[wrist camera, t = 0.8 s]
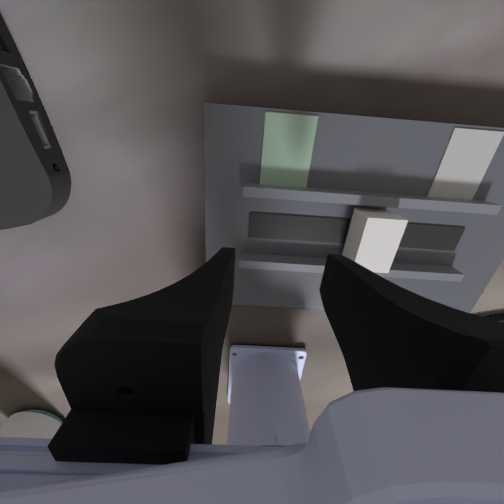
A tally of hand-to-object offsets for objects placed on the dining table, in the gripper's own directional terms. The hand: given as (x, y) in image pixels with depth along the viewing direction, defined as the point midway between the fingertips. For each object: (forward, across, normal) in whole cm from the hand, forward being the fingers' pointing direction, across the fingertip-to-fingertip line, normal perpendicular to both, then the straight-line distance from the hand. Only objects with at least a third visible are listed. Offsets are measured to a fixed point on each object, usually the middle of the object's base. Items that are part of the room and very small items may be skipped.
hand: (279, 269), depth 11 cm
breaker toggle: (+5, -6, 0) cm, 9 cm away
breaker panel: (+8, -6, 0) cm, 11 cm away
